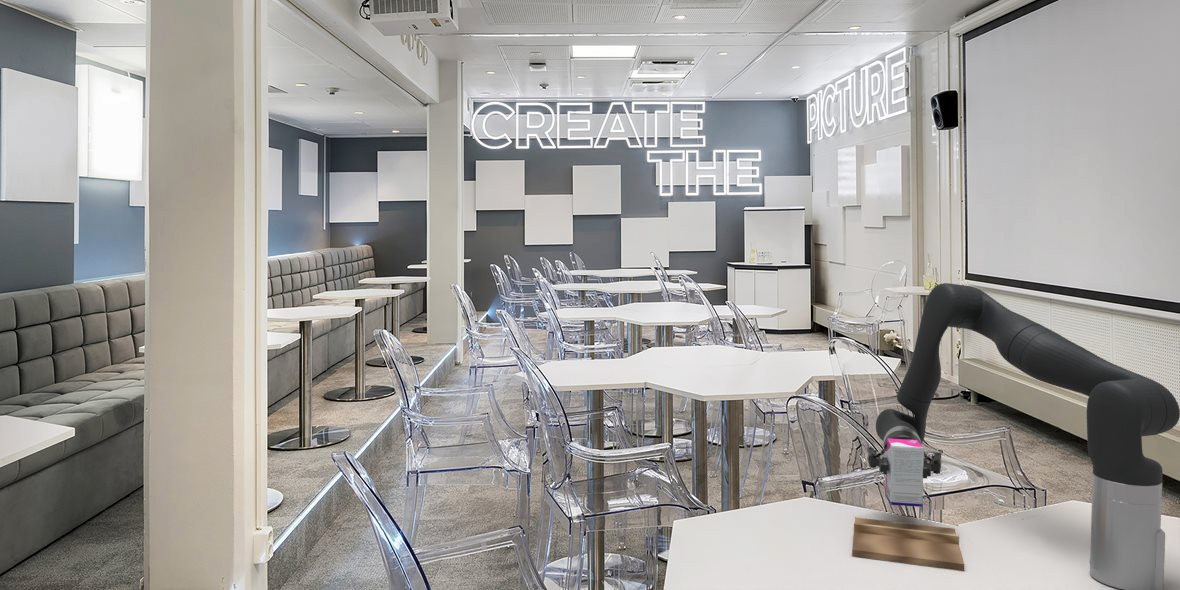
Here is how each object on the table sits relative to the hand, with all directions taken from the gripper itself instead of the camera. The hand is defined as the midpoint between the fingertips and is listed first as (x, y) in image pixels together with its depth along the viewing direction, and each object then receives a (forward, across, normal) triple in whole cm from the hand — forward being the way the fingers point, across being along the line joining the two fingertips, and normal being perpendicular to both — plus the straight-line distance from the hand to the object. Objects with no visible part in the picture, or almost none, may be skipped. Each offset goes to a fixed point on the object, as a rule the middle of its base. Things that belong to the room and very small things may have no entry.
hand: (905, 471), depth 139 cm
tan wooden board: (+3, 0, +13) cm, 13 cm away
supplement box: (-2, 0, +7) cm, 7 cm away
